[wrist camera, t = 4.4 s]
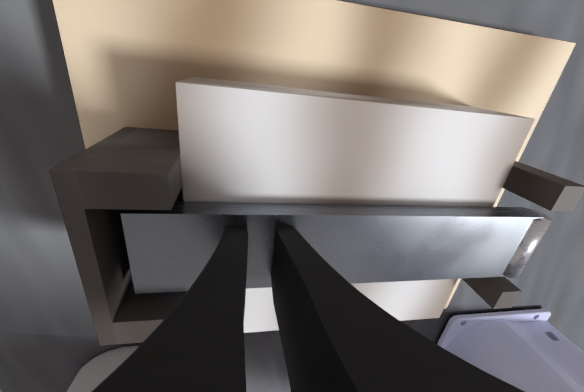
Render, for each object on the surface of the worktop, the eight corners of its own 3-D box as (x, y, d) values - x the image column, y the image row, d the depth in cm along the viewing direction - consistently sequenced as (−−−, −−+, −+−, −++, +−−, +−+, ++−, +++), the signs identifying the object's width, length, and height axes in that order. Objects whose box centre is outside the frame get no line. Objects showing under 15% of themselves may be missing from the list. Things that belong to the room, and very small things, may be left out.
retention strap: (511, 195, 13) (561, 220, 11) (484, 248, 14) (524, 279, 12) (142, 184, 9) (117, 217, 7) (152, 254, 11) (133, 298, 9)
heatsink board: (548, 44, 13) (752, 33, 8) (435, 295, 20) (504, 377, 15) (64, -40, 9) (-178, -179, 4) (133, 312, 16) (81, 434, 10)
